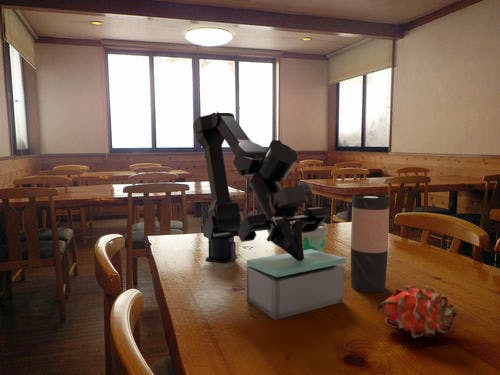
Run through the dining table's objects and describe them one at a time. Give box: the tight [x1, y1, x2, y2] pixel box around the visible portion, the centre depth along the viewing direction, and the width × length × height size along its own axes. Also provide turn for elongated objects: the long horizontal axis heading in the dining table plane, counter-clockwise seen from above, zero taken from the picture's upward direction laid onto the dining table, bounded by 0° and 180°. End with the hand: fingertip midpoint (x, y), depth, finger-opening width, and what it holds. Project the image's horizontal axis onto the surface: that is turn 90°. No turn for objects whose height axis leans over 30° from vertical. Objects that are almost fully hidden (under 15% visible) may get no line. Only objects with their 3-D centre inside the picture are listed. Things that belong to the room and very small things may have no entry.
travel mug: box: [350, 193, 390, 294], centre depth 83 cm, size 8×8×20 cm
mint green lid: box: [246, 249, 347, 277], centre depth 75 cm, size 10×16×1 cm, turn 120°
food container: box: [302, 221, 329, 253], centre depth 101 cm, size 12×6×10 cm, turn 168°
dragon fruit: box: [376, 284, 458, 339], centre depth 63 cm, size 8×8×12 cm
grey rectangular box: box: [246, 264, 345, 321], centre depth 76 cm, size 10×16×7 cm, turn 120°
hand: (301, 259), depth 74 cm, fingers closed, pressing on mint green lid
